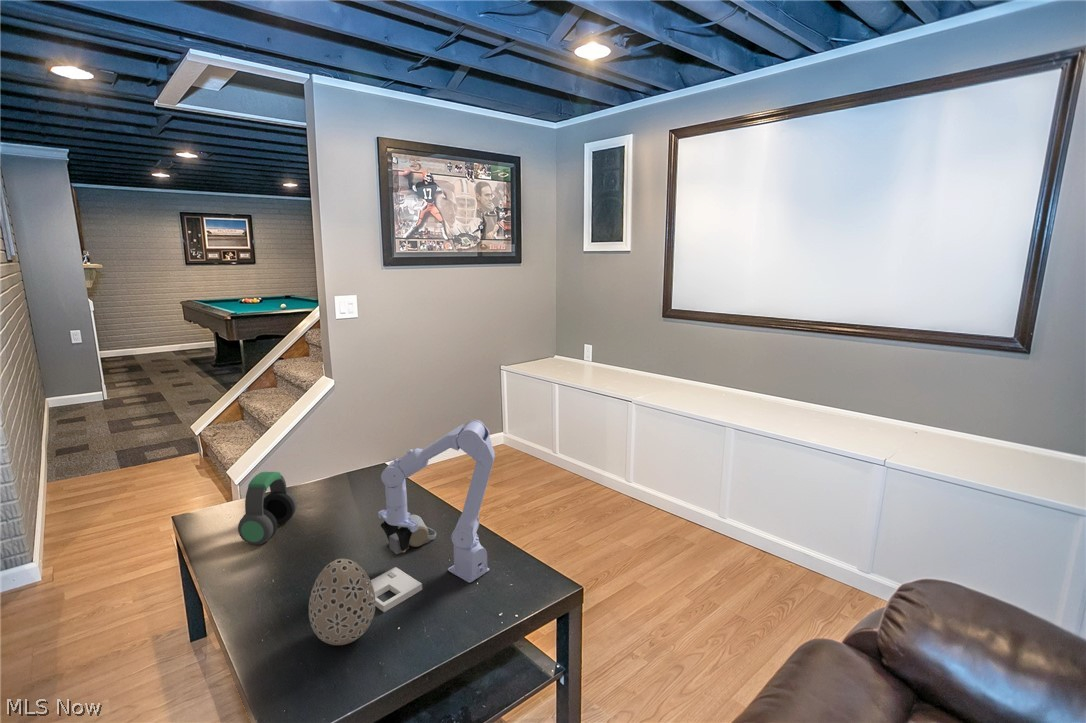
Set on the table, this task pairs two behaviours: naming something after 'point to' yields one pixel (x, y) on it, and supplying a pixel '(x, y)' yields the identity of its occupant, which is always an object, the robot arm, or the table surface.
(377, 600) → the socket
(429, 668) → the table surface
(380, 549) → the table surface
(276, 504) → the headphones
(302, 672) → the table surface
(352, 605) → the ornament
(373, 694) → the table surface
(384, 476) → the robot arm
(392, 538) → the plug
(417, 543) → the ceramic mug
